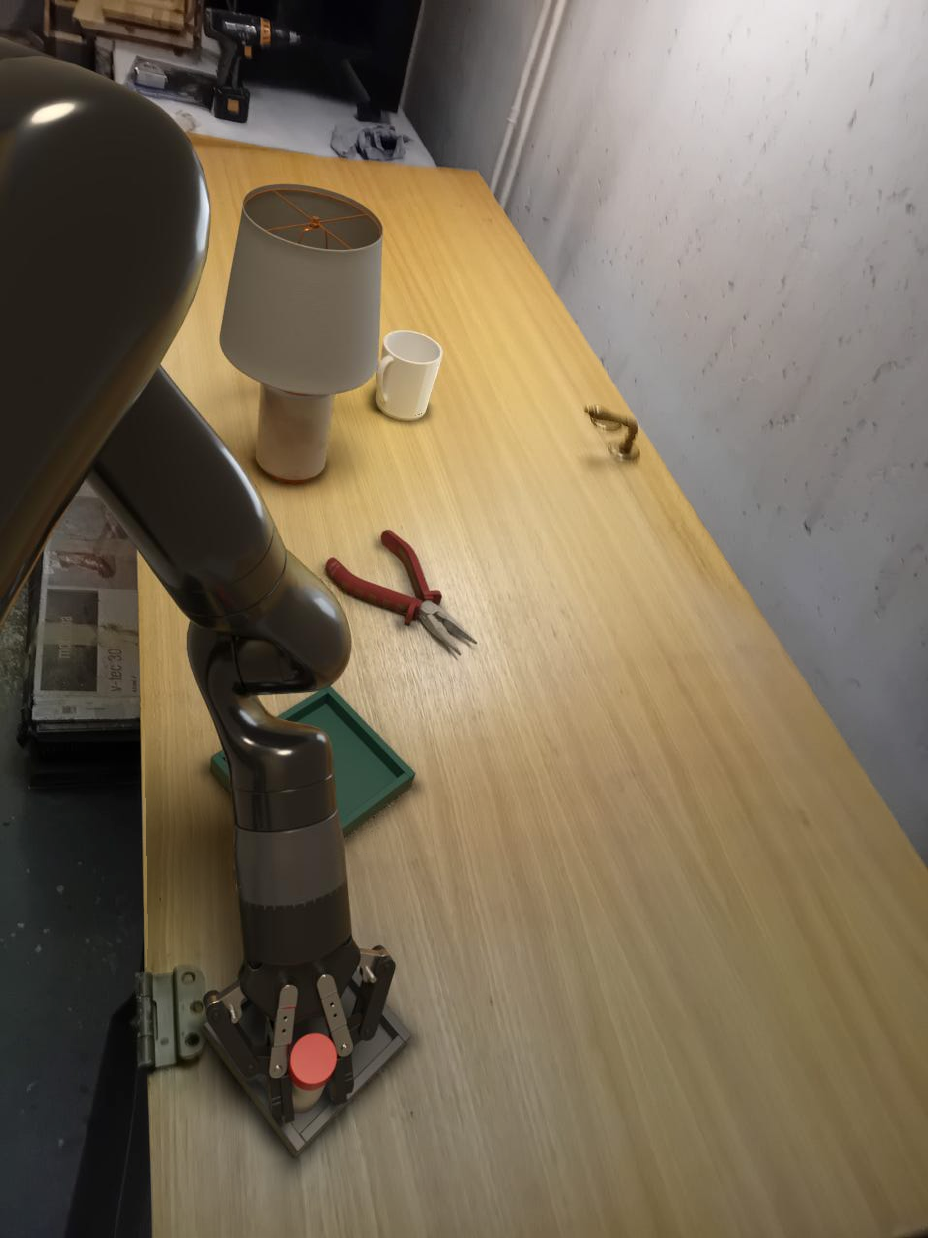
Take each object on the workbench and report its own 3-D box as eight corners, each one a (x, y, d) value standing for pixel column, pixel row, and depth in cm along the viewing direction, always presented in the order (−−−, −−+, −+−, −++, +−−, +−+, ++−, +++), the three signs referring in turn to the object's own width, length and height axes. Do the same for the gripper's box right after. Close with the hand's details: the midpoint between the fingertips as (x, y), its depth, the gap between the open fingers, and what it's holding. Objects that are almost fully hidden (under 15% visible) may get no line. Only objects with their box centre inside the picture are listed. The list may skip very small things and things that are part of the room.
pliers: (433, 678, 94) (438, 664, 92) (319, 572, 100) (322, 557, 98) (497, 634, 101) (503, 620, 99) (387, 538, 107) (390, 523, 106)
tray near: (294, 1158, 61) (297, 1152, 59) (203, 1033, 65) (203, 1024, 63) (406, 1043, 68) (412, 1035, 66) (317, 937, 72) (320, 926, 70)
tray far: (297, 873, 75) (300, 861, 73) (210, 770, 80) (210, 756, 78) (411, 786, 84) (416, 773, 82) (326, 698, 89) (329, 684, 87)
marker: (297, 1125, 62) (310, 1095, 55) (271, 1090, 63) (280, 1056, 56) (330, 1092, 64) (346, 1059, 57) (304, 1059, 65) (317, 1022, 58)
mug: (402, 382, 132) (414, 324, 124) (440, 413, 129) (455, 355, 121) (350, 401, 125) (360, 340, 118) (389, 433, 122) (401, 373, 115)
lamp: (301, 408, 121) (328, 168, 97) (385, 482, 115) (436, 244, 90) (188, 445, 110) (185, 184, 85) (273, 529, 103) (297, 273, 79)
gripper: (191, 924, 51) (218, 1180, 52) (405, 873, 56) (423, 1106, 58) (180, 880, 57) (205, 1107, 59) (373, 838, 63) (390, 1047, 65)
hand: (313, 1105), depth 59 cm, fingers closed on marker, 3 cm apart
